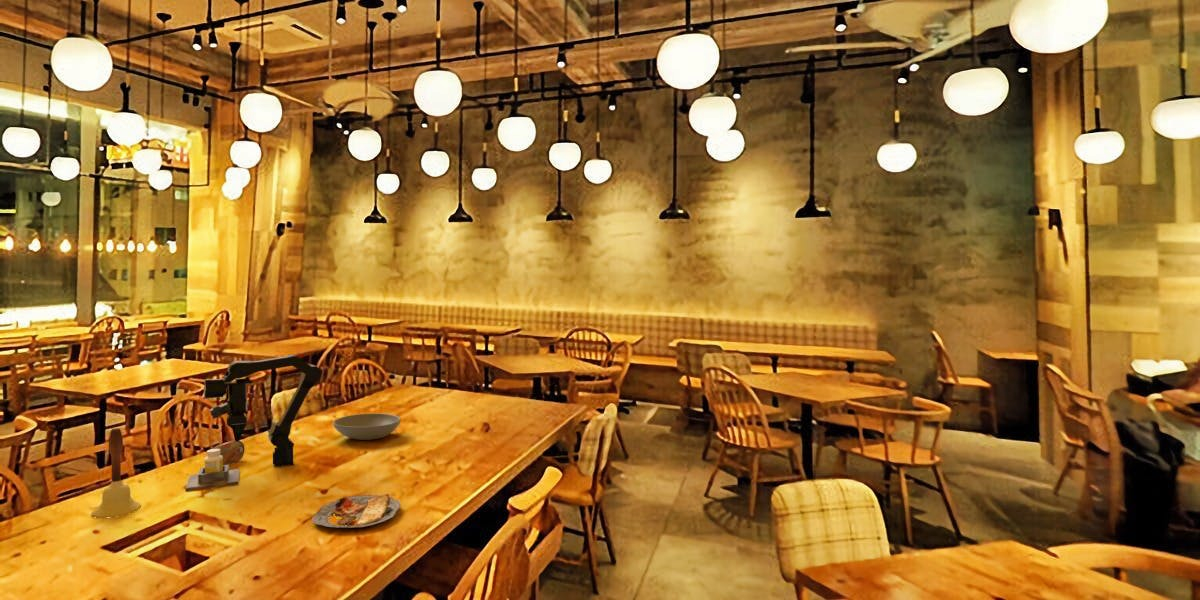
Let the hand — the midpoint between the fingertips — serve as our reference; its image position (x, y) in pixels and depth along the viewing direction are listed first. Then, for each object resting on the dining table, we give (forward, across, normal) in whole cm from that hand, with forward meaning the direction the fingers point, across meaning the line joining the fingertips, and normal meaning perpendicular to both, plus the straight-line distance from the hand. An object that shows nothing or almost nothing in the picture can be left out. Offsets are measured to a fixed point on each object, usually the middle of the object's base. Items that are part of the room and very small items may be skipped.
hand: (237, 438), depth 225 cm
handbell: (+12, +27, -31) cm, 43 cm away
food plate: (+12, +63, +33) cm, 72 cm away
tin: (+12, -10, -4) cm, 16 cm away
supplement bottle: (+11, +9, -7) cm, 16 cm away
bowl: (+12, -28, +49) cm, 58 cm away
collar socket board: (+12, +9, -7) cm, 17 cm away
